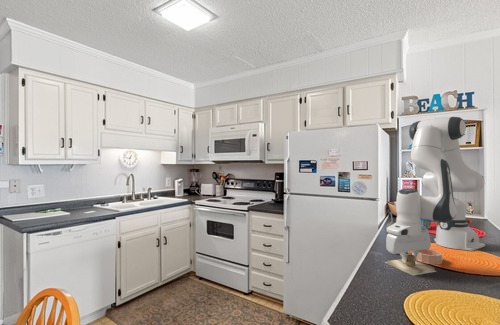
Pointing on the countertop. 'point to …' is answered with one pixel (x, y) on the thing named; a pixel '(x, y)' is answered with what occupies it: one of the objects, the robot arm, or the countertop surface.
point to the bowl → (430, 256)
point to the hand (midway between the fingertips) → (409, 261)
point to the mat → (420, 273)
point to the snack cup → (426, 223)
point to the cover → (410, 265)
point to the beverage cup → (390, 225)
